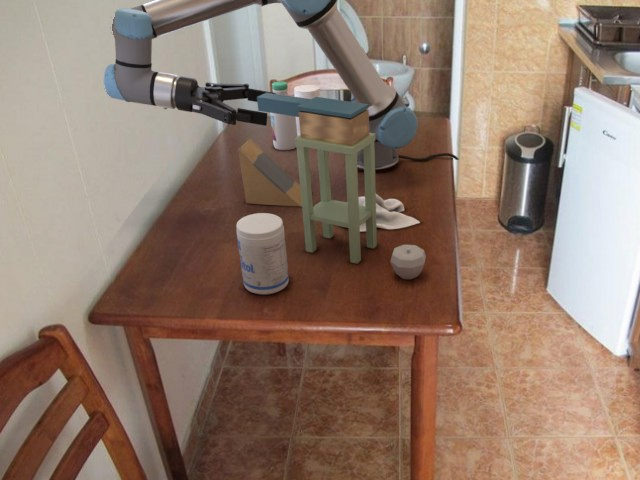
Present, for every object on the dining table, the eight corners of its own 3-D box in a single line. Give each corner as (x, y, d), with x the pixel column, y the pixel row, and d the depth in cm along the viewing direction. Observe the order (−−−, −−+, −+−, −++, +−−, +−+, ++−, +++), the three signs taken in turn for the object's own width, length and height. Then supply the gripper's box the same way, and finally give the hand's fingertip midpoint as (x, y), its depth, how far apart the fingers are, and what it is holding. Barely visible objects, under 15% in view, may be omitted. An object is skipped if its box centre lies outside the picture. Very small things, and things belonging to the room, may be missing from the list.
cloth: (327, 231, 162) (326, 208, 159) (338, 200, 177) (337, 178, 174) (419, 234, 161) (419, 210, 157) (421, 201, 176) (421, 180, 173)
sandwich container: (301, 207, 174) (296, 152, 166) (245, 203, 176) (237, 149, 168) (310, 193, 181) (305, 140, 173) (256, 190, 183) (249, 137, 175)
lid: (252, 113, 142) (250, 99, 140) (273, 103, 148) (271, 90, 146) (351, 129, 133) (350, 114, 131) (369, 118, 139) (368, 104, 137)
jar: (297, 127, 227) (293, 83, 219) (325, 127, 227) (322, 83, 219) (294, 139, 218) (290, 93, 209) (323, 138, 218) (320, 92, 210)
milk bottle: (302, 143, 214) (296, 80, 203) (291, 152, 208) (285, 87, 197) (280, 141, 216) (274, 78, 205) (269, 149, 210) (262, 85, 199)
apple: (401, 262, 149) (401, 236, 145) (432, 271, 146) (433, 245, 142) (383, 278, 143) (382, 252, 140) (415, 288, 140) (415, 261, 136)
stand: (304, 251, 154) (294, 138, 139) (327, 233, 161) (319, 124, 146) (357, 264, 148) (352, 148, 134) (378, 245, 156) (375, 133, 141)
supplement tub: (235, 285, 141) (224, 223, 133) (269, 268, 147) (261, 208, 139) (264, 301, 136) (256, 237, 128) (299, 283, 142) (292, 221, 134)
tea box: (300, 137, 139) (298, 111, 137) (319, 126, 145) (317, 101, 142) (352, 146, 135) (350, 119, 132) (369, 134, 141) (368, 109, 138)
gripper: (191, 91, 163) (277, 106, 166) (162, 128, 143) (261, 145, 145) (191, 60, 159) (279, 76, 161) (161, 94, 139) (263, 112, 141)
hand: (271, 108), depth 153 cm, fingers open, 13 cm apart
